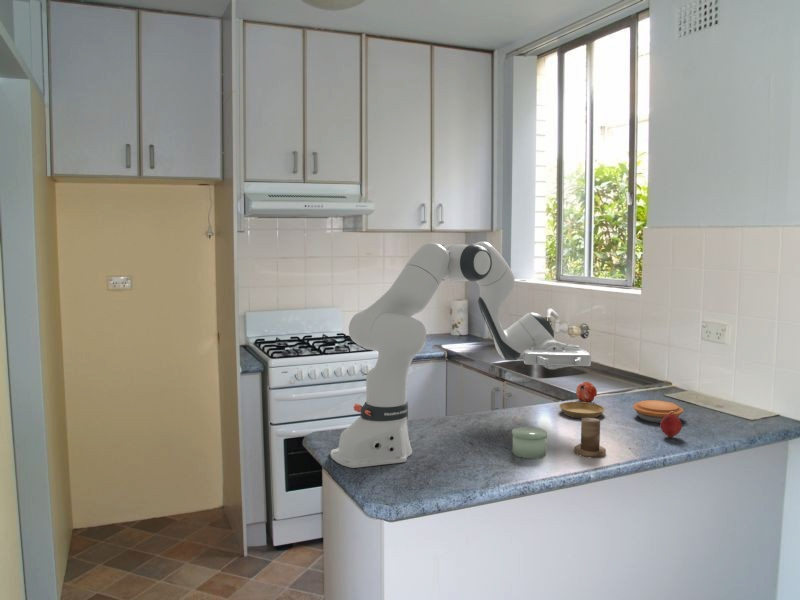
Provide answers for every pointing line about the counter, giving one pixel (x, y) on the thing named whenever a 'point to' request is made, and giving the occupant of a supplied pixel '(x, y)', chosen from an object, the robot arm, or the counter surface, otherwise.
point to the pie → (656, 410)
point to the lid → (590, 439)
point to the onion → (671, 425)
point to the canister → (529, 442)
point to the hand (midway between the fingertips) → (562, 362)
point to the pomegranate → (586, 392)
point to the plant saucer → (581, 409)
